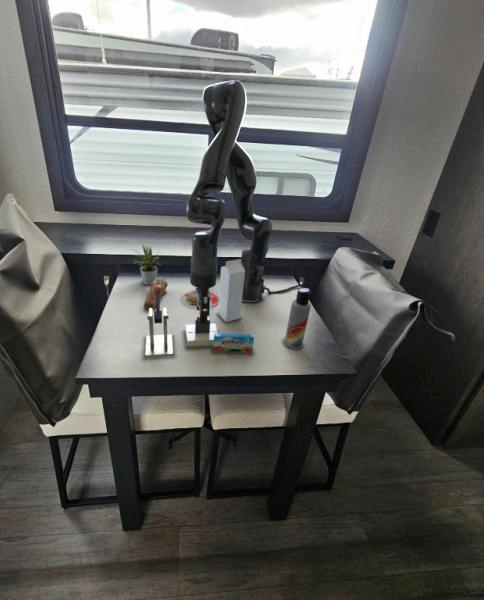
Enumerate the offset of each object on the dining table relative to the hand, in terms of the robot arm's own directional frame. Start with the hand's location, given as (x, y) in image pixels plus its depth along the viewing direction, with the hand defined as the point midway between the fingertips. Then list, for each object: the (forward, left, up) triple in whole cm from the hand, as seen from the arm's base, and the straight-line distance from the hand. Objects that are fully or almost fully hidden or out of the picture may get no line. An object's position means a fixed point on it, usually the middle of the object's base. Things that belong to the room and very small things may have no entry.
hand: (201, 316), depth 98 cm
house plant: (+18, -44, -9) cm, 48 cm away
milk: (-12, -13, -9) cm, 20 cm away
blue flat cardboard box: (-9, +7, -9) cm, 14 cm away
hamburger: (-3, -26, -9) cm, 28 cm away
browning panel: (0, 0, -9) cm, 9 cm away
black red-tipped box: (0, 0, -5) cm, 5 cm away
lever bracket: (+13, +3, -9) cm, 16 cm away
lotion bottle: (-30, +5, -9) cm, 31 cm away
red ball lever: (+13, -2, +3) cm, 14 cm away
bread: (+14, -27, -9) cm, 32 cm away
